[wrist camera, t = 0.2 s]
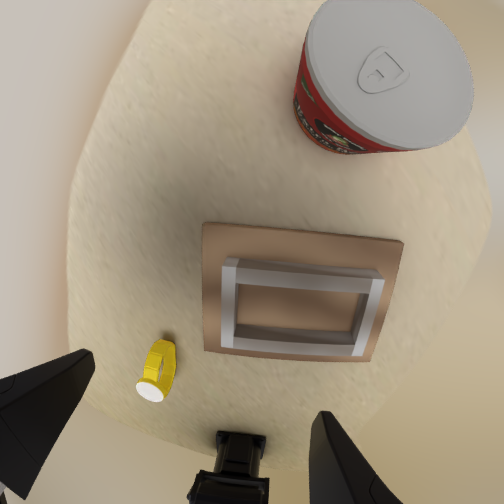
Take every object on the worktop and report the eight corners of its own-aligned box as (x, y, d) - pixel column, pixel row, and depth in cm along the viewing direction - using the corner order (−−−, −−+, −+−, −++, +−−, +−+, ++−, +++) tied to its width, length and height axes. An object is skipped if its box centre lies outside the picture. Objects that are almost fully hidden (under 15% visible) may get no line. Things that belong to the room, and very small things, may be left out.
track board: (367, 357, 24) (374, 375, 21) (206, 345, 25) (198, 364, 23) (400, 240, 20) (414, 251, 18) (205, 222, 21) (194, 230, 19)
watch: (183, 373, 27) (167, 415, 22) (160, 367, 27) (141, 407, 22) (181, 333, 25) (160, 377, 20) (155, 327, 25) (130, 368, 20)
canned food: (273, 121, 19) (267, 76, 8) (323, 44, 16) (354, -38, 6) (360, 175, 19) (436, 191, 9) (404, 97, 17) (489, 62, 6)
